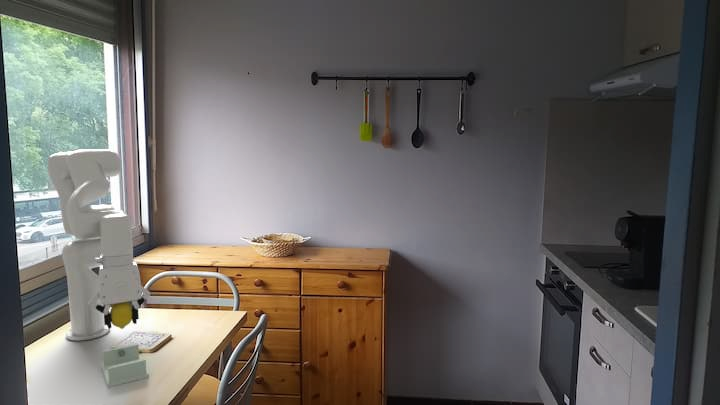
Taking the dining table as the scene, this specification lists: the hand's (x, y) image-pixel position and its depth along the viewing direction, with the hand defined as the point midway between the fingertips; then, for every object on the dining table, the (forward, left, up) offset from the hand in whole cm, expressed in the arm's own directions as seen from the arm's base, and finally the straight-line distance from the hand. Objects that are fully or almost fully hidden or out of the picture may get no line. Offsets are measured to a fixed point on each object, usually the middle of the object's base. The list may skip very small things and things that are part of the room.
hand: (121, 323), depth 130 cm
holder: (0, 0, -14) cm, 14 cm away
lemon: (0, 0, -1) cm, 2 cm away
